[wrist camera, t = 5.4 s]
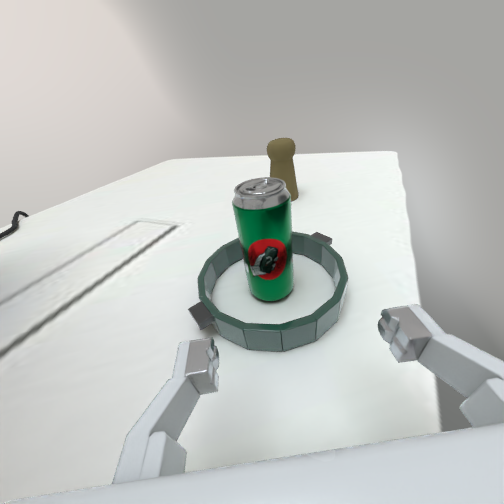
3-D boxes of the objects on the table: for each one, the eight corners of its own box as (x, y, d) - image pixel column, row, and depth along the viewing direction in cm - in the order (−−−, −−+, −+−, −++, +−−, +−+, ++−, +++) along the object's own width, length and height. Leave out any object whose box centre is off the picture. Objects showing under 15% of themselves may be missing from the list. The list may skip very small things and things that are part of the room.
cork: (301, 191, 47) (301, 134, 40) (294, 203, 42) (292, 141, 36) (274, 191, 49) (270, 136, 43) (265, 202, 45) (258, 143, 38)
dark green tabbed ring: (173, 292, 27) (165, 274, 25) (283, 232, 34) (281, 215, 33) (246, 404, 16) (239, 386, 14) (381, 281, 24) (387, 260, 22)
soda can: (303, 287, 25) (303, 182, 18) (268, 312, 22) (253, 203, 15) (273, 267, 28) (263, 172, 21) (241, 287, 26) (218, 188, 19)
